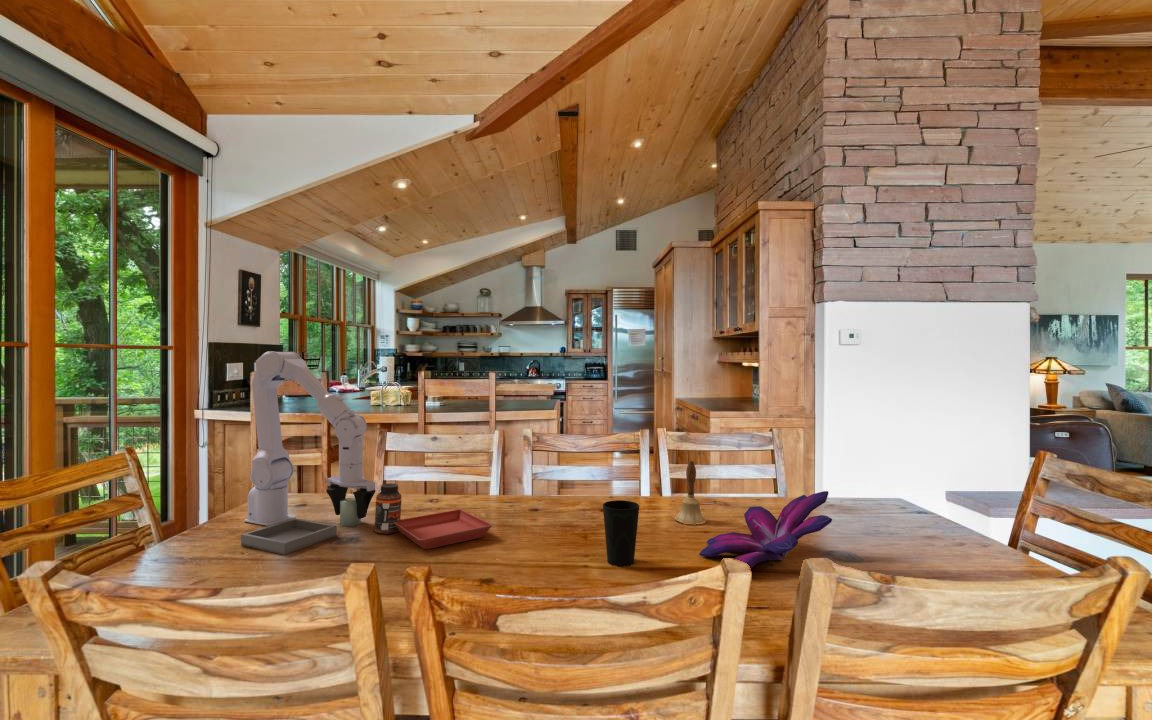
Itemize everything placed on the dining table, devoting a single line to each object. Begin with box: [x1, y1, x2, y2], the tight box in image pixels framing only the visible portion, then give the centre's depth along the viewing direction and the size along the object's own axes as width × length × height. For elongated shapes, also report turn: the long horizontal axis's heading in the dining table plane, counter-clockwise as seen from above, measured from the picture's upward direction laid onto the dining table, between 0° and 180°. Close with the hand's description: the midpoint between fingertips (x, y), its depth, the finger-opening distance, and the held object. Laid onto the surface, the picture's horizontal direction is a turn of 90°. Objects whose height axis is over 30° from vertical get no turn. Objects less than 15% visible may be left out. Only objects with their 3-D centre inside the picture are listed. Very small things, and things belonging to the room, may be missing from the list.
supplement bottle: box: [374, 483, 402, 535], centre depth 134 cm, size 6×6×11 cm
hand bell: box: [674, 460, 707, 524], centre depth 145 cm, size 8×8×16 cm
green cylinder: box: [339, 497, 362, 527], centre depth 141 cm, size 5×5×6 cm
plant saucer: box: [394, 509, 493, 550], centre depth 131 cm, size 18×18×3 cm
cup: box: [602, 499, 640, 568], centre depth 115 cm, size 8×8×12 cm
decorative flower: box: [698, 490, 833, 569], centre depth 116 cm, size 31×31×10 cm
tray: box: [240, 517, 338, 556], centre depth 127 cm, size 14×14×2 cm
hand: (350, 516), depth 141 cm, fingers open, 7 cm apart
